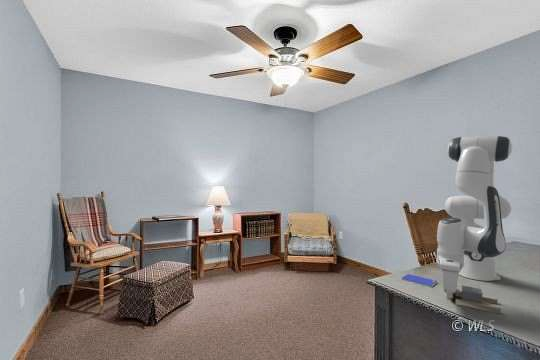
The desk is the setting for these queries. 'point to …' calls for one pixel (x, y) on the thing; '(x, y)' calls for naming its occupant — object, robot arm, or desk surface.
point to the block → (471, 294)
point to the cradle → (479, 305)
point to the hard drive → (419, 280)
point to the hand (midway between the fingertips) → (449, 296)
